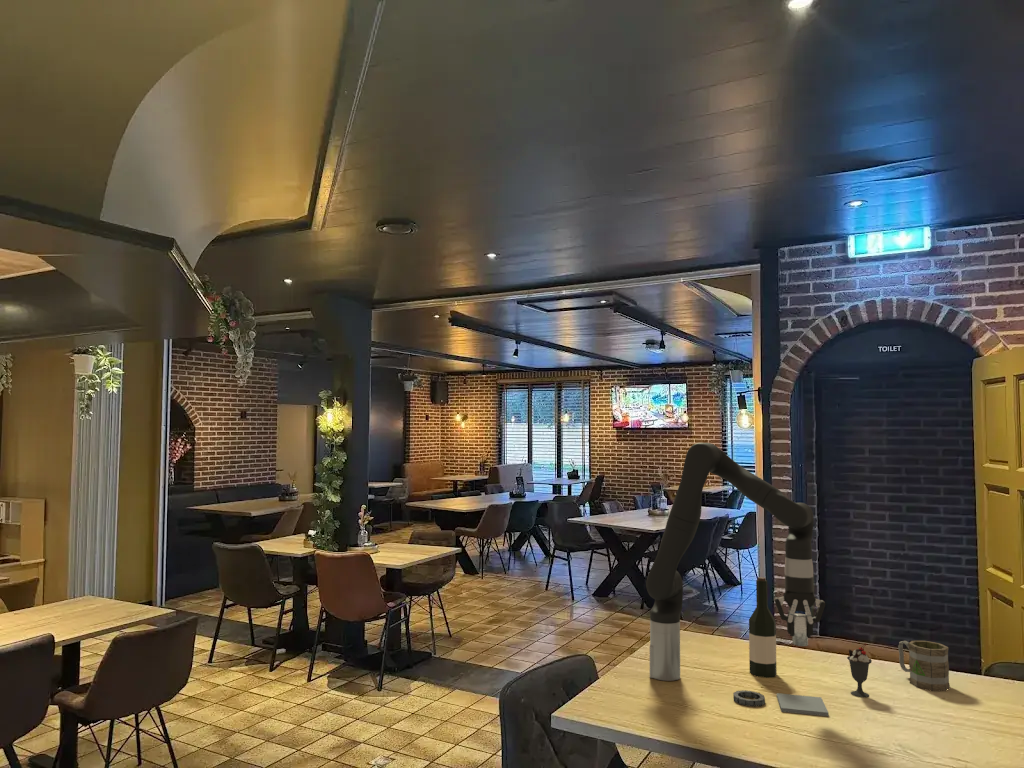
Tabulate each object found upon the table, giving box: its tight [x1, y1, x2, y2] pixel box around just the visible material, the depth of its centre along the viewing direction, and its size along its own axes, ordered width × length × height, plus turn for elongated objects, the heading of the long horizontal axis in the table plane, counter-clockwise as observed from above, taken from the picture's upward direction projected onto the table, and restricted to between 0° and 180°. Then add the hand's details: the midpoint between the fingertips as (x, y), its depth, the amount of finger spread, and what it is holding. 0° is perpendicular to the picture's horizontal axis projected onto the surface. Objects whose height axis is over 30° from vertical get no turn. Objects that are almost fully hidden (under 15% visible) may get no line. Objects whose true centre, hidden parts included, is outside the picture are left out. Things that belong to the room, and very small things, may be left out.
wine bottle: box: [748, 576, 778, 679], centre depth 230 cm, size 8×8×30 cm
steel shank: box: [792, 612, 809, 647], centre depth 202 cm, size 4×4×8 cm
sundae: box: [846, 643, 872, 698], centre depth 211 cm, size 7×7×15 cm
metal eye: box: [732, 689, 766, 708], centre depth 204 cm, size 8×8×2 cm
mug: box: [897, 640, 951, 692], centre depth 222 cm, size 16×11×12 cm
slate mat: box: [776, 692, 829, 717], centre depth 200 cm, size 12×12×1 cm
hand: (800, 635), depth 202 cm, fingers closed on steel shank, 4 cm apart
